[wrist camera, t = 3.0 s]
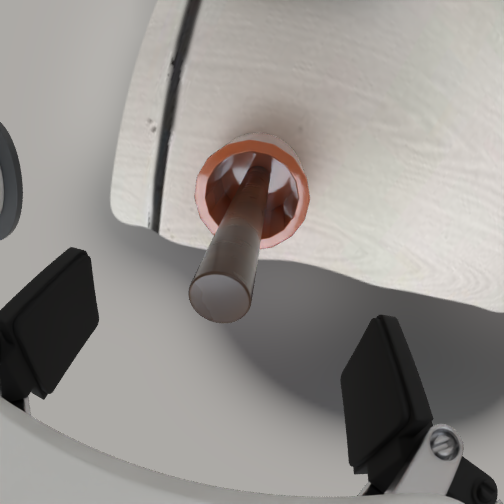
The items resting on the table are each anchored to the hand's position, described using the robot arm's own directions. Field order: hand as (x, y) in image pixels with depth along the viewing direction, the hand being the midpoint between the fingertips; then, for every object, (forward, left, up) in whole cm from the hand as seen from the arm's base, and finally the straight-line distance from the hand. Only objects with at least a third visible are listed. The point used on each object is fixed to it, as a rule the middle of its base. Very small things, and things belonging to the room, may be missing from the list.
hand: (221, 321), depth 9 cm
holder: (0, 0, -20) cm, 20 cm away
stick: (0, 0, -19) cm, 19 cm away
